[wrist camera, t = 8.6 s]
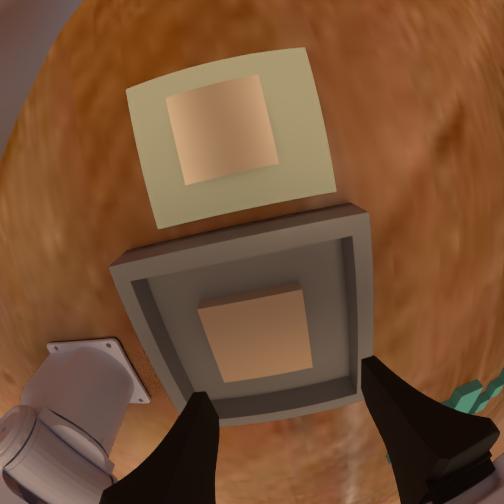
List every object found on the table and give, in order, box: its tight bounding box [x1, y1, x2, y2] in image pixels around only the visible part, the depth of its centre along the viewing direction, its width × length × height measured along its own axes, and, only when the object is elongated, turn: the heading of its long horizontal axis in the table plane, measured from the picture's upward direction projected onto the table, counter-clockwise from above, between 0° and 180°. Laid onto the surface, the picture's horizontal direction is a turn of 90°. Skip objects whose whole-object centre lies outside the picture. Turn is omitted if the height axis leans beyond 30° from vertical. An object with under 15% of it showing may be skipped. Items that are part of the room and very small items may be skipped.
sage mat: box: [126, 47, 336, 229], centre depth 17 cm, size 12×10×1 cm
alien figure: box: [386, 368, 504, 464], centre depth 28 cm, size 20×2×20 cm
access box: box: [108, 203, 374, 427], centre depth 20 cm, size 16×16×3 cm
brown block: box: [166, 75, 279, 185], centre depth 14 cm, size 4×4×6 cm
